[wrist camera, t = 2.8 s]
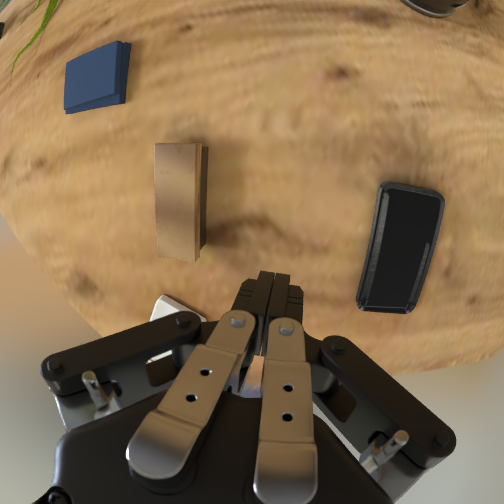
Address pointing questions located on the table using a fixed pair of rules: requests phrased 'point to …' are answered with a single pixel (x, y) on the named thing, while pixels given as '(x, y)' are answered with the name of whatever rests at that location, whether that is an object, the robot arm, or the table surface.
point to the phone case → (165, 308)
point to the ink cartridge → (1, 28)
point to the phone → (399, 248)
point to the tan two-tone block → (180, 199)
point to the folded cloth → (97, 78)
